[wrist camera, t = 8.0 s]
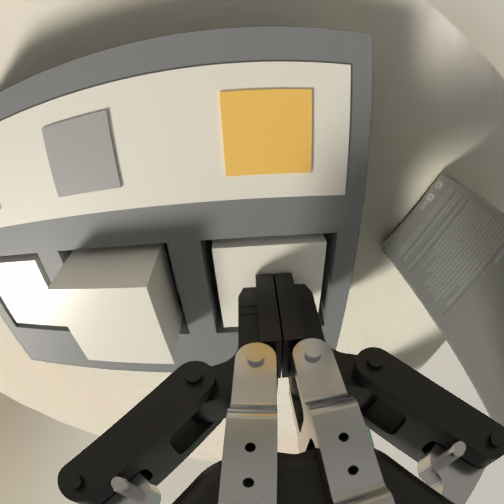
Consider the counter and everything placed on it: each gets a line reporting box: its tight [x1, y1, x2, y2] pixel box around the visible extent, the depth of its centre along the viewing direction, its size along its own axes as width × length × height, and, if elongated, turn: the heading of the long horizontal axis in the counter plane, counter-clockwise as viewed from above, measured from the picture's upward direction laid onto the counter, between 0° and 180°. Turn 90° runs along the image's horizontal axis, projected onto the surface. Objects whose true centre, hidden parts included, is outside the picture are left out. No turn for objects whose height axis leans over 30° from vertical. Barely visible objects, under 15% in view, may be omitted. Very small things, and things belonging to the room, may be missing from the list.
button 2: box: [0, 253, 68, 327], centre depth 14 cm, size 4×4×3 cm
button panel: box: [0, 26, 372, 372], centre depth 14 cm, size 20×16×5 cm
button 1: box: [212, 233, 327, 327], centre depth 14 cm, size 4×4×3 cm
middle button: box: [47, 243, 183, 364], centre depth 12 cm, size 4×4×3 cm
